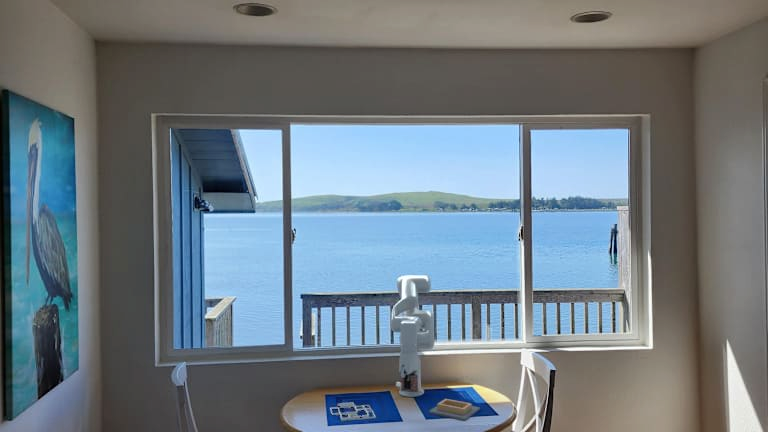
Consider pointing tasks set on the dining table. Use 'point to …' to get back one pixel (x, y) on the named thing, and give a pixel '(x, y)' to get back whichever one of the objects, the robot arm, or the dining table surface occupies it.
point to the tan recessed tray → (454, 409)
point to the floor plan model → (355, 416)
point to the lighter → (411, 383)
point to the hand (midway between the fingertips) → (409, 386)
